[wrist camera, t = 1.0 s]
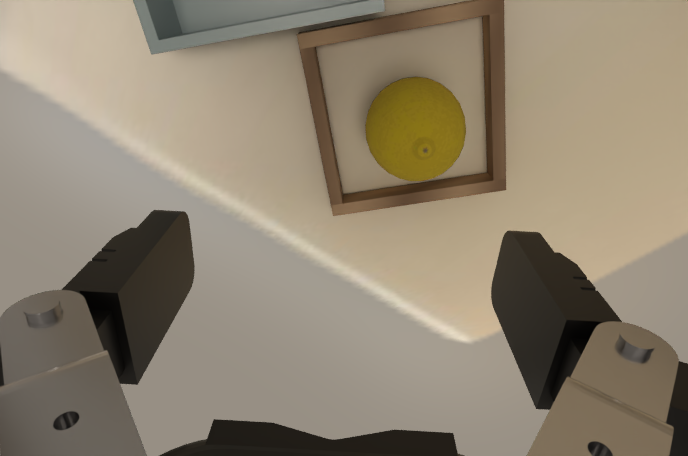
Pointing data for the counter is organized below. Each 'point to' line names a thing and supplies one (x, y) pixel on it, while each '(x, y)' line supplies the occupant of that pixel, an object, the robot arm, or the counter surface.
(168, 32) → the bin
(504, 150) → the tray
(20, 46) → the counter surface
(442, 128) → the lemon
